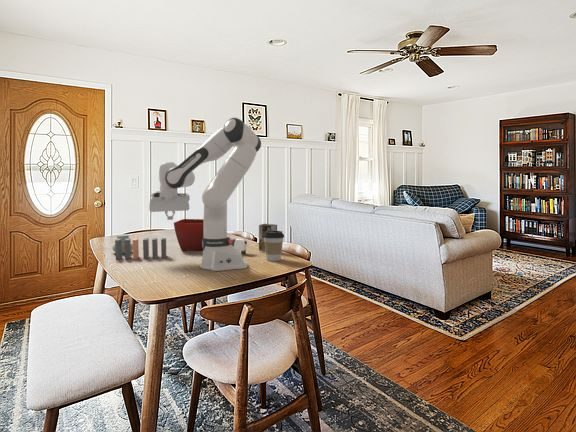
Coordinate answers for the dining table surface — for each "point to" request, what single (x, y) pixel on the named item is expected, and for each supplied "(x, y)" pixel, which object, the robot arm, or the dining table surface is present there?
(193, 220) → the plant pot
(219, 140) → the robot arm
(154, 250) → the domino
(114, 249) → the air freshener
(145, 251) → the domino
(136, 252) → the domino
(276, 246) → the coffee cup
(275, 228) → the coffee box
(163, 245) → the domino
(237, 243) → the giant panda
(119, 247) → the domino
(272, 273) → the dining table surface
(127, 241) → the domino
